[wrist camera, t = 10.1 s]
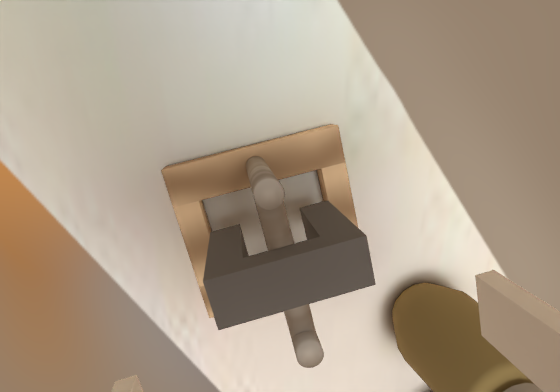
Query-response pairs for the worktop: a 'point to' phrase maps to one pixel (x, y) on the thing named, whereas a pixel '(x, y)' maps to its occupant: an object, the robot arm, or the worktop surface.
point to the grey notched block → (286, 268)
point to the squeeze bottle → (451, 343)
